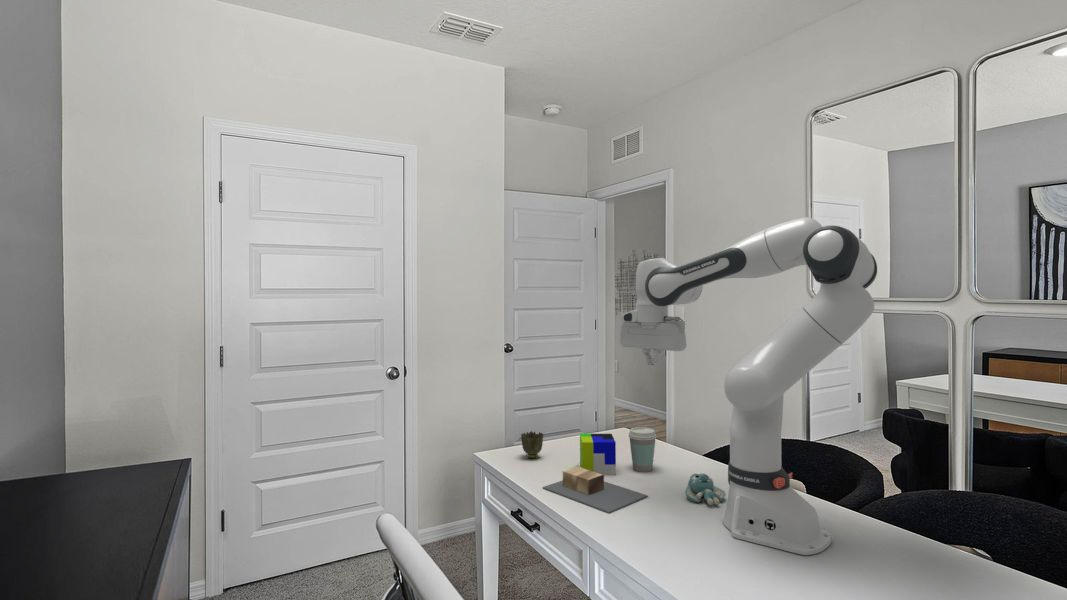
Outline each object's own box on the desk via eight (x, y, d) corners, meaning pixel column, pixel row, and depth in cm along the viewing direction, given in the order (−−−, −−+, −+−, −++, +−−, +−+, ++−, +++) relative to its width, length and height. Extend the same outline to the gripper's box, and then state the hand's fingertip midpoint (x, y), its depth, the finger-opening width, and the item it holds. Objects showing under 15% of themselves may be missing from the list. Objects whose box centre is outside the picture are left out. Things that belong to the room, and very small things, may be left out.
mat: (647, 496, 145) (648, 495, 145) (609, 513, 134) (609, 512, 134) (581, 475, 162) (581, 473, 162) (542, 488, 152) (542, 487, 152)
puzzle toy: (615, 475, 162) (615, 442, 162) (582, 475, 162) (582, 442, 162) (611, 465, 172) (611, 433, 172) (580, 465, 172) (579, 433, 172)
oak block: (603, 474, 149) (577, 466, 157) (589, 480, 145) (562, 471, 153) (603, 489, 150) (577, 480, 157) (589, 494, 145) (562, 485, 153)
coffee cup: (655, 464, 172) (654, 427, 172) (658, 473, 163) (658, 433, 163) (627, 464, 173) (627, 426, 172) (629, 473, 164) (629, 433, 164)
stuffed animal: (695, 489, 136) (678, 465, 147) (693, 515, 137) (676, 489, 149) (736, 487, 137) (716, 463, 148) (733, 513, 138) (714, 487, 150)
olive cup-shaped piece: (547, 456, 181) (547, 432, 181) (536, 462, 175) (535, 437, 175) (529, 453, 185) (528, 430, 185) (517, 459, 179) (516, 434, 179)
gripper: (690, 316, 147) (691, 367, 147) (630, 314, 162) (630, 360, 162) (677, 317, 143) (678, 369, 143) (616, 315, 158) (616, 362, 158)
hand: (652, 365), depth 153 cm, fingers closed
